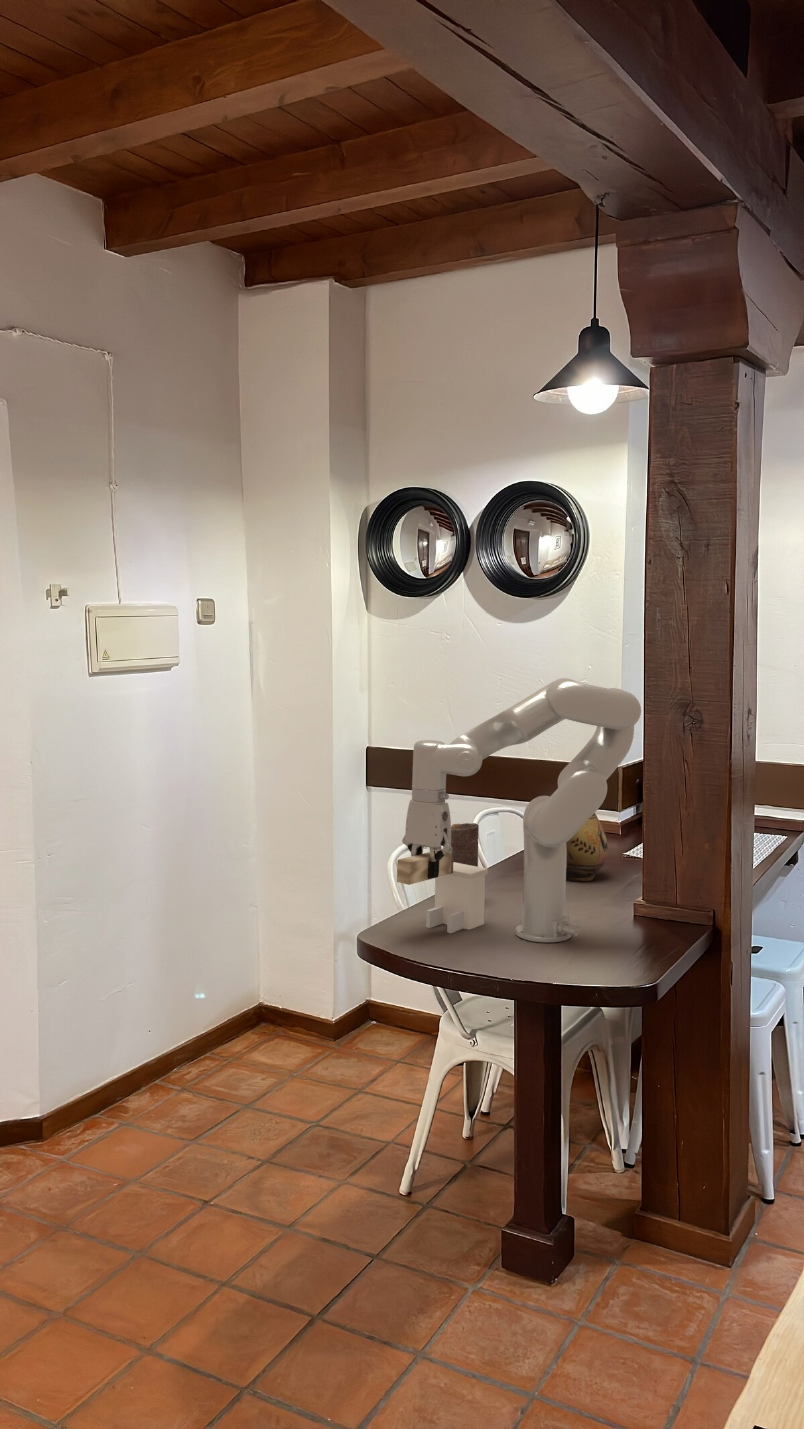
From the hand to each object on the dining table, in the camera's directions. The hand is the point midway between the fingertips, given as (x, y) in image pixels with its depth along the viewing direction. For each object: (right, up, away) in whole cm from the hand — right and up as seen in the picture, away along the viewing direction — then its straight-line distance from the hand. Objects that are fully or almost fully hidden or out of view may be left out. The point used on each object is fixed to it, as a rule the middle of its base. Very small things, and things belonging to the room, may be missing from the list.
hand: (425, 875), depth 242 cm
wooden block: (0, 0, 0) cm, 0 cm away
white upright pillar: (+6, -13, +8) cm, 17 cm away
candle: (+10, -11, +28) cm, 32 cm away
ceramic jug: (+44, -9, +56) cm, 72 cm away
